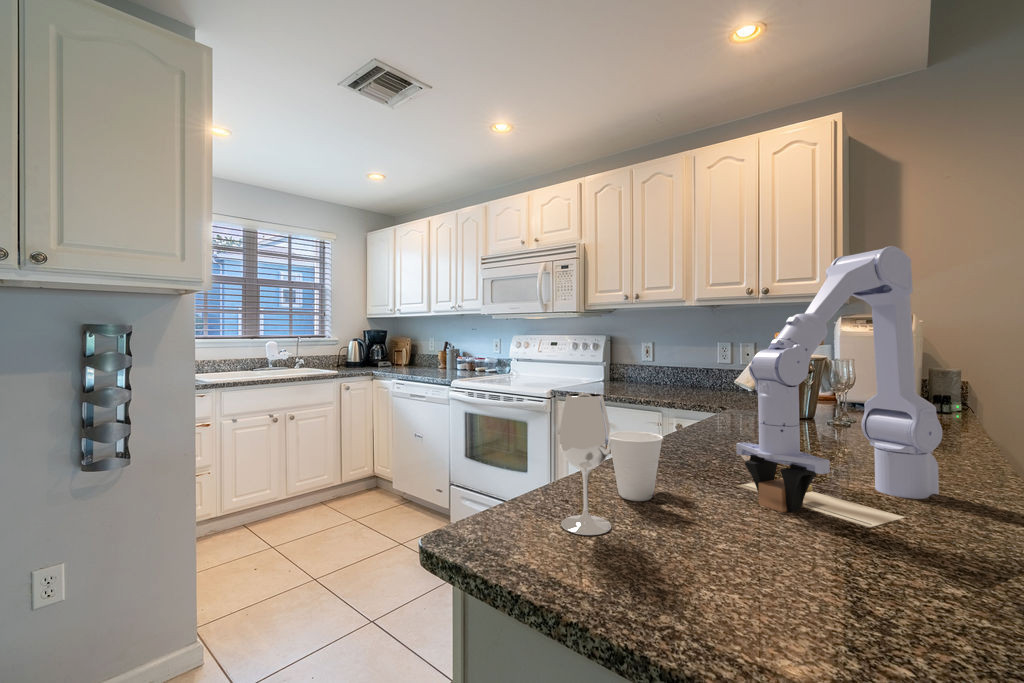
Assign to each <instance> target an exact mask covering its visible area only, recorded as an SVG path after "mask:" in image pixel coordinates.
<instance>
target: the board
mask: <svg viewBox="0 0 1024 683" xmlns="http://www.w3.org/2000/svg"><path fill="white" fill-rule="evenodd" d="M736 487H739V488H742V489H745V490H748V491H752V492H754V493H758V491H757V488H756V485H755V482H754V481H753V482H750V483H749V482H748V483H744V484H739V485H736ZM803 508H806V509H809V510H811V511H815V512H818V513H821V514H825V515H829V516H831V517H835V518H838V519H840V520H844V521H847V522H850V523H853V524H856V525H860V526H864V527H867V528H872V527H878V526H880V525H885V524H888V523H891V522H894V521H897V520H901V519H905V518H906V516H903V515H900V514H896V513H891V512H888V511H885V510H882V509H878V508H874V507H871V506H867V505H863V504H859V503H855V502H852V501H850V500H849V501H848V500H845V499H841V498H837V497H834V496H831V495H827V494H823V493H819V492H817V491H816V492H815V491H813V490H812V492H807V493H806V494H805V496H804V499H803Z"/></svg>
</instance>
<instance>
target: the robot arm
mask: <svg viewBox="0 0 1024 683" xmlns="http://www.w3.org/2000/svg"><path fill="white" fill-rule="evenodd" d="M912 273H913V272H912V259H911V257H910V256H908V254H906V253H905V252H904V251H903V250H902V249H900V248H899V247H897V246H894V245H890V246H885V247H884V248H879V249H875V250H871V251H866V252H860V253H855V254H850V255H842V256H838V257H836V258H835V259H834V260H833V261H832V262H831V264H830V266H828V267H827V268H826V270H825V278H826V279H825V281H824V283H823V284H822V286H821V287H820V289H819V291H818V292H817V294H816V295H815V297H814V298H813V300H812V301H811V303H810V304H809V305H808V307H807V308H806V311H805V312H804V313H797V314H794V315H793V316H789V317H788V318H787V319H786V321H785V326H784V327H783V328H782V329H781V331H780V332H779V333H778V334H777V336H776V337H775V338H774V339H772V341H771V342H770V344H769V346H768V348H767V349H763V350H759V351H758V352H757V353H756V354H755V355H754V356H753V358H752V360H751V363H750V365H748V371H749V375H750V377H751V379H752V380H753V381H754V388H755V389H754V390H755V391H756V393H757V398H758V399H757V402H758V403H757V404H758V406H757V408H758V409H757V410H758V444H757V443H749V442H744V441H743V442H738V443H736V444H735V445H736V446H735V447H736V455H739V456H747V457H750V458H749V459H747V460H745V461H744V466H745V468H746V469H747V470H748V472H749V474H750V476H751V477H752V480H753V483H754V482H755V485H756V488H757V491H758V495H759V484H758V483H759V482H765V481H770V480H775V476H776V472H777V468H778V465H779V464H781V465H785V466H789V467H784V468H781V469H780V473H781V476H782V480H784V484H785V490H786V505H787V511H786V512H789V513H796V512H800V511H802V508H801V507H802V503H803V499H804V496H805V494H806V491H807V489H808V487H809V485H812V484H811V483H812V482H813V480H814V479H815V478H816V476H817V475H825V474H830V472H831V470H830V468H831V467H830V464H831V462H830V459H827V458H821V457H819V456H815V455H812V454H809V453H806V452H803V451H801V443H800V442H801V441H800V439H801V438H800V436H801V434H800V433H801V430H800V399H799V398H800V390H799V388H800V384H801V383H803V381H805V380H806V379H807V377H808V375H809V367H810V366H809V365H810V362H811V359H812V356H813V354H814V353H815V352H816V351H817V348H818V347H819V346H820V345H821V343H822V342H823V341H824V340H825V338H826V336H828V333H829V331H828V327H827V323H828V322H829V321H830V319H832V317H833V316H834V315H835V314H836V313H837V312H838V311H839V310H840V308H842V306H843V305H844V304H845V303H846V302H847V301H848V300H849V299H850V297H851V296H852V297H854V298H856V299H859V300H862V301H864V302H865V303H866V304H868V306H870V307H871V317H872V331H873V332H872V333H873V348H874V349H873V351H874V366H875V380H876V394H875V395H873V396H872V397H871V398H869V399H867V400H866V401H865V402H864V413H863V417H862V419H861V431H862V434H863V435H864V437H865V438H866V439H867V440H868V441H869V446H871V447H873V448H874V489H875V490H876V491H877V492H879V493H882V494H885V495H889V496H892V497H898V498H906V499H913V500H914V499H915V500H917V499H919V500H923V499H928V498H929V497H930V496H932V495H940V491H939V490H940V488H939V485H940V484H939V480H940V479H939V478H940V477H939V463H938V461H937V459H936V458H935V455H933V454H932V453H934V450H935V449H936V448H937V447H939V445H940V444H941V442H942V439H943V428H942V425H941V423H940V421H939V418H938V414H937V407H936V406H935V405H934V404H933V403H932V402H930V401H928V400H927V399H925V398H924V397H922V396H920V395H919V394H918V393H917V386H916V383H917V382H916V371H915V369H916V368H915V352H914V351H915V350H914V337H913V335H914V334H913V321H912V320H913V318H912V304H911V294H912V293H913V292H914V288H913V275H912Z"/></svg>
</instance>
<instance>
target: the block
mask: <svg viewBox="0 0 1024 683" xmlns="http://www.w3.org/2000/svg"><path fill="white" fill-rule="evenodd" d="M758 484H759V494H758V505H760V506H761V507H765V508H767V509H771V510H773V511H777V512H779V513H786V512H788V511H787V505H786V490H785V484H784V480H783V478H778V479H774V480H770V481H765V482H759V483H758ZM812 491H813V485H812V484H810V485H809V487H808V489H807V491H806V493H807V492H812ZM803 508H804V507H803V503H802V507H801V509H803Z"/></svg>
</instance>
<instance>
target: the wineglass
mask: <svg viewBox="0 0 1024 683" xmlns="http://www.w3.org/2000/svg"><path fill="white" fill-rule="evenodd" d="M610 433H611V427H610V423H609V418H608V411H607V407H606V404H605V400H604V396H603V394H601V393H593V392H592V393H591V392H575V393H574V392H573V393H567V394H566V397H565V401H564V405H563V411H562V415H561V421H560V427H559V439H558V440H559V448H560V451H561V454H562V455H563V457H564V458H565V460H566V461H567V462H568V463H569V464H570V465H571V466H573V467H574V468H576V469H579V470H580V472H581V474H582V485H583V487H582V488H583V489H582V490H583V491H582V493H583V494H582V496H583V510H582V514H578V515H577V514H576V515H571V516H568V517H566V518H564V519H563V520H562V521H561V523H560V525H561V528H563V529H564V530H565V531H567V532H569V533H571V534H575V535H581V536H598V535H603V534H606V533H607V532H610V531H611V529H612V524H611V522H610V521H608V520H607V519H606V518H603V517H600V516H596V515H591V514H590V511H589V476H590V471H591V470H593V469H594V470H595V469H596V468H597V467H600V466H601V464H603V463H604V462H605V461H606V459H607V458H608V456H609V455H610V453H611V434H610Z"/></svg>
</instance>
